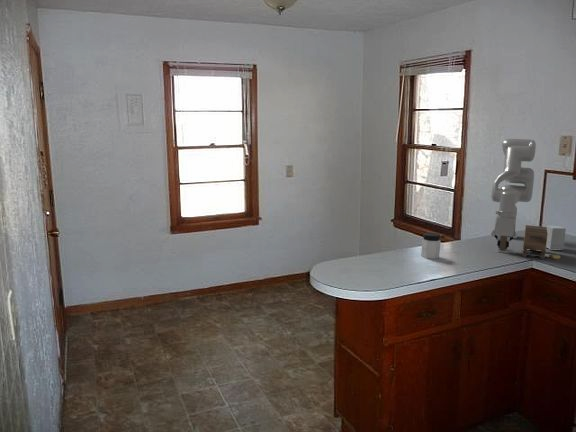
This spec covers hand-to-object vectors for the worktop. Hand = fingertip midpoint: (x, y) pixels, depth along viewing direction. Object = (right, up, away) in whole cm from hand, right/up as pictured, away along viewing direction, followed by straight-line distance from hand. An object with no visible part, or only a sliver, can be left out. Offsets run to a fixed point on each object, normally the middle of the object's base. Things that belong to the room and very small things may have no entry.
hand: (502, 247), depth 263 cm
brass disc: (+22, -5, -10) cm, 25 cm away
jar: (-43, -4, -12) cm, 45 cm away
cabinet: (+15, -3, -3) cm, 16 cm away
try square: (+9, -3, -4) cm, 10 cm away
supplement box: (+31, -1, +8) cm, 32 cm away
